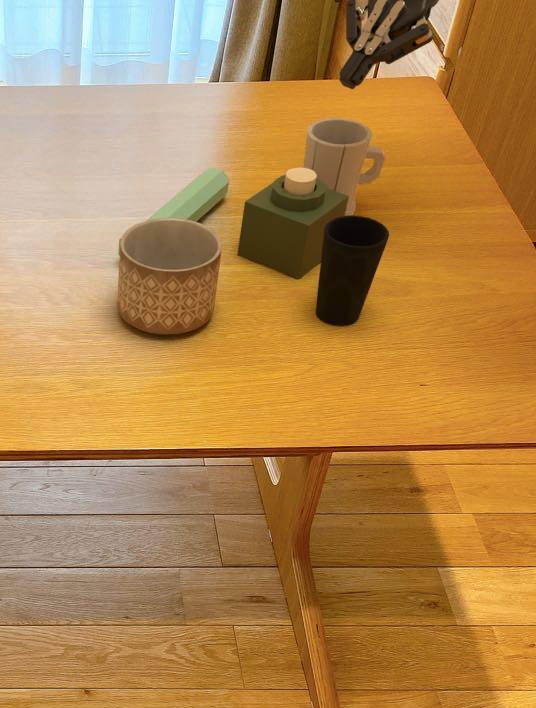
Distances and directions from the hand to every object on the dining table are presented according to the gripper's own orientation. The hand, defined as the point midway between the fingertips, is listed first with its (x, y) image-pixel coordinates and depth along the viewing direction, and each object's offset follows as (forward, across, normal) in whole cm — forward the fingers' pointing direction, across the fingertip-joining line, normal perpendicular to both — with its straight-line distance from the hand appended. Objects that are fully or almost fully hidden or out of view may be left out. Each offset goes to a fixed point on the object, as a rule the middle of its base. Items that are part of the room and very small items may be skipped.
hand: (345, 84), depth 130 cm
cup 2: (+24, +14, +7) cm, 29 cm away
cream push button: (+13, 0, +5) cm, 14 cm away
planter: (+36, 0, -5) cm, 36 cm away
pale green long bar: (+25, -14, +6) cm, 29 cm away
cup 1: (+10, -4, +21) cm, 24 cm away
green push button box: (+20, 0, +11) cm, 23 cm away
